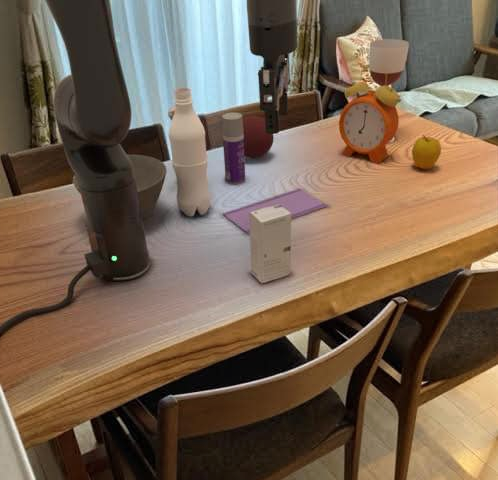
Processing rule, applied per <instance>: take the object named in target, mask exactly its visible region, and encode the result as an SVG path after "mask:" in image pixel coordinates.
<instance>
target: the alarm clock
mask: <svg viewBox="0 0 498 480" xmlns="http://www.w3.org/2000/svg"><path fill="white" fill-rule="evenodd" d="M363 71H368V69H366V68H362V69H361V72H360V79H359V82H355V81H353V82H352V85H351V86H349V87H348V88H347V89H346V90H345V92H344V97H345V99H347V98H350V97H352V96H354V95H356V97H355V98H353V99H352V100H350V101H349V102H348V103H347V104H345V106H343V109H342V111H341V113H340V115H339V121H338V130H339V133H340V136H341V139H342V141H343V143H345V145H346V146H345V148H344V150H343V152H342V156H347V157H351V156H352V155H354V154H355V153H358V154H360V155H361V154H362V155H368V157H369V160H370V162H372V163H376V164H380V163H381V162H382V161H383V160H384V159H386V158H388V157H389V154H388V151H387V147H386V144H389V143H391V142H392V141H391V140H392V139H393V137H394V138H395V136H396V134H397V132H398V129H399V126H400V125H399V124H400V123H399V118H400V117H399V114H398V113H399V112H398V111H397V107H396V106H397V105H398V103H399V98H400V97H399V94H398V92H397V91H396V90H395V89H394V88H393V87H391V86H390V85H389V86H386V82H385V85H384V86H379V87H378V88H377V89H376V90H375V89H372V88H371V89H370V88H369V85H368V83H366V82H365V81H362V76H363V75H362V74H363ZM370 71H373V70H369V72H370ZM376 72H380V71H376ZM383 73H386V72H383ZM386 77H387V73H386ZM366 89H367V92H366V93H363V94H361V95H360V92H362V91H364V90H366ZM390 141H391V142H390ZM388 142H389V143H388Z"/></svg>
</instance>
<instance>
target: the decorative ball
mask: <svg viewBox="0 0 498 480" xmlns="http://www.w3.org/2000/svg"><path fill="white" fill-rule="evenodd" d="M242 119H243V134H244V158H248V159H259V158H262V157H263V156H265V155H266V154H268V153H269V151H271V148H272V146H273V143H274V134H268V133H267V132H266V124H265V118H263V117H260V116H255V115H251V116H247V117H245V118H242Z"/></svg>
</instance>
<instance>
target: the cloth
mask: <svg viewBox="0 0 498 480" xmlns="http://www.w3.org/2000/svg"><path fill="white" fill-rule="evenodd" d="M275 205H280V206H282V207H283V208H285V209H286V210H287V211H289V212H290V213H291V220H293V219H296V218H299V217H302V216H305V215H307V214H311V213H313V212H316V211H319V210H322V209H324V208H327V207H328V205H327V204H325V203H323V202H321V201H319V200H318V199H317V198H315V197H314V196H312V195H310V194H308V193H306V192H305V191H303V190H302V189H300V188H297V189H294V190H291V191H288V192H285V193H282V194H279V195H276V196H273V197H269V198H267V199H264V200H260V201H258V202H254V203H251V204H248V205H245V206H242V207H239V208H236V209H232V210H229V211H226V212H224V213H222V216H224V217H225V218H226V219H228V220H229V221H230V222H231V223H233V224H234V225H236V227H238V228H239V229H240V230H242V232H244V233H245V234H246V235H250V219H249V213H250V212H252V211H256V210H259V209H262V208H265V207H271V206H275Z"/></svg>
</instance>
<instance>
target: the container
mask: <svg viewBox="0 0 498 480" xmlns="http://www.w3.org/2000/svg"><path fill="white" fill-rule="evenodd" d="M243 119H244V118H243V114H242V113H240V112H226V113H223V114H222V116H221V120H222V121H221V123H222V125H221V126H222V145H223V160H224V161H223V163H224V175H225V178H224V179H225V182H226V184H229V185H241V184H243V183H245V181H246V164H245V163H246V159H245V158H246V157H245V156H244V134H243Z"/></svg>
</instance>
